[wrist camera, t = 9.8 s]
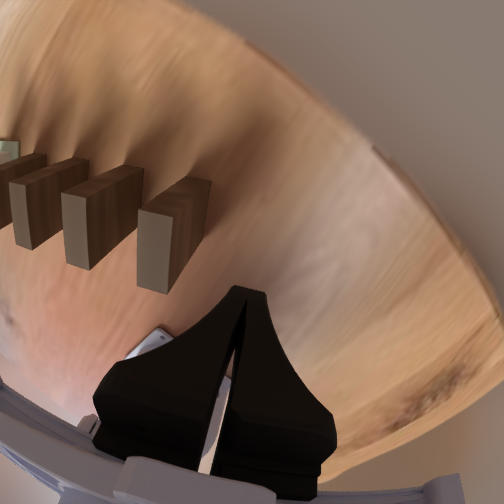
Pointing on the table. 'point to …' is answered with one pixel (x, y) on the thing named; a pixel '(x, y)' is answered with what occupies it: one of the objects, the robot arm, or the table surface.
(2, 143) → the pad
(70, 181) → the domino
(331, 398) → the table surface
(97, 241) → the domino
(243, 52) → the table surface
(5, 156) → the domino
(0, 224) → the domino
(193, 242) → the domino
